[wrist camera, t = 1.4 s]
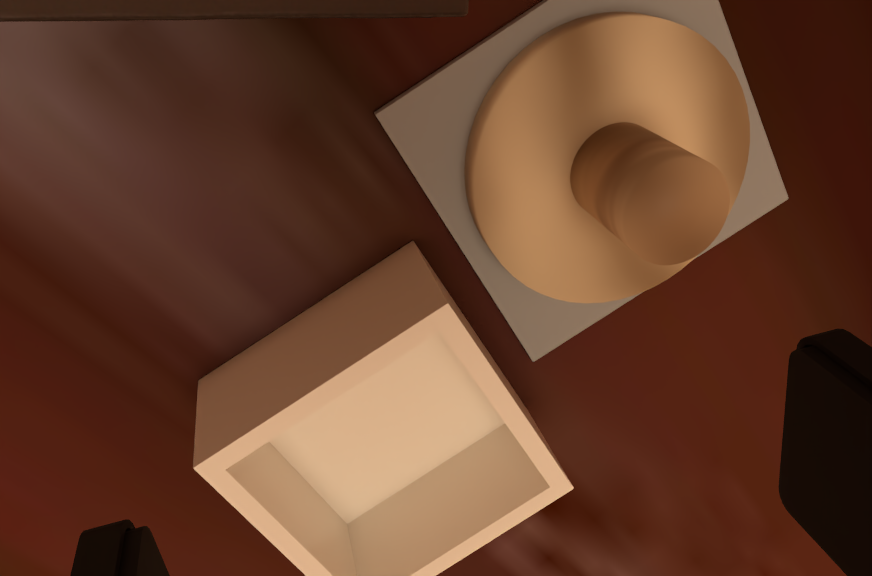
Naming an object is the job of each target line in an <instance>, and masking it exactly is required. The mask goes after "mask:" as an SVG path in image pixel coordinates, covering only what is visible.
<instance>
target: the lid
mask: <svg viewBox="0 0 872 576" xmlns="http://www.w3.org/2000/svg"><path fill="white" fill-rule="evenodd" d="M749 147H750V122H749V114H748V107H747V103H746V100H745V96H744V93H743V89H742V87H741V85H740V82H739V80H738V78H737V76H736V73H735V72H734V70H733V69H732V67H731V66H730V64H729V63H728V61H727V59H726V58H725V57H724V56H723V55H722V54H721V53H720V52H719V50H718V49H717V48H716V47H715V46H714V45H713V44H711V43H710V42H709V41H708V40H706V39H705V38H704V37H703V36H702V35H700V34H698V33H696V32H695V31H693V30H691V29H689V28H688V27H686V26H683V25H680V24H678V23H675V22H672V21H669V20H666V19H662V18H658V17H654V16H650V15H645V14H640V13H635V12H616V11H614V12H605V13H596V14H592V15H588V16H584V17H580V18H577V19H574V20H572V21H569V22H567V23H564V24H562V25H560V26H557V27H556V28H554V29H552V30H550V31H549V32H547V33H545V34H543V35H542V36H540V37H539V38H537V39H536V40H535V41H533V42H532V43H531V44H529V45H528V46H527V47H525V48H524V49H523V50H522V51H521V52H520V53H519V54H518V55H517V56H516V57H515V58H514V59H513V60H512V61H511V62H510V63H509V64H508V65H507V66H506V67H505V69H504V70H503V71H502V72H501V74H500V75H499V76H498V77H497V78H496V80H495V81H494V83H493V84H492V86H491V88H490V89H489V91H488V92H487V94H486V96H485V97H484V99H483V101H482V104H481V106H480V108H479V110H478V112H477V114H476V117H475V120H474V123H473V126H472V129H471V131H470V135H469V140H468V145H467V149H466V157H465V170H464V174H465V191H466V196H467V201H468V206H469V209H470V212H471V215H472V218H473V221H474V224H475V226H476V228H477V230H478V231H479V233H480V235H481V237H482V239H483V240H484V242H485V243H486V244H487V246H488V247H489V249H490V250H491V251H492V253H493V254H494V255H495V257H496V258H497V259H498V260H499V262H500V263H501V264H502V266H503V267H504V268H505V269H506V270H507V271H508V272H509V273H510V274H511V275H512V276H513V277H515V278H516V279H517V280H519V281H520V282H521V283H523V284H524V285H525V286H527V287H529V288H531V289H532V290H534V291H536V292H538V293H540V294H543V295H545V296H548V297H551V298H554V299H557V300H562V301H567V302H573V303H604V302H609V301H615V300H620V299H624V298H627V297H630V296H633V295H637V294H639V293H641V292H644V291H646V290H648V289H651V288H653V287H655V286H656V285H658V284H660V283H662V282H663V281H665V280H667V279H669V278H670V277H671V276H673V275H674V274H676V273H677V272H678V271H680V270H681V269H683V268H684V267H685V266H686V265H687V264H688V263H689V262H691V261H692V260H693V259H694V258H695V257H696V256H697V255H698V254H700V253H701V252H703V251H704V250H705V249H706V248H707V247H708V246H709V245H710V244H711V243H712V242H713V241H714V240H715V238H716V237H717V236H718V234H719V233H720V231H721V229H722V228H723V225H724V223H725V221H726V218H727V216H728V214H729V213H730V211H731V209H732V206H733V204H734V202H735V200H736V198H737V196H738V193H739V190H740V188H741V185H742V182H743V179H744V175H745V171H746V167H747V162H748V156H749Z"/></svg>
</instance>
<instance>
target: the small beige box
mask: <svg viewBox="0 0 872 576" xmlns="http://www.w3.org/2000/svg"><path fill="white" fill-rule="evenodd" d="M193 468H194V469H195V470H196V471H197V472H198V473H199V474H200V475H201V476H202V477H203V478H204V479H205V480H206V481H207V482H208V483H209V484H210V485H211V486H212V487H213V488H215V489H216V490H217V491H218V492H219V493H220V494H221V495H222V496H223V497H224V498H225V499H226V500H227V501H228V502H229V503H230V504H231V505H232V506H233V507H234V508H235V509H237V510H238V511H239V512H240V513H241V514H242V515H243V516H244V517H245V518H246V519H247V520H248V521H249V522H250V523H251V524H252V525H253V526H254V527H255V528H256V529H258V530H259V531H260V532H261V533H262V534H263V535H264V536H265V537H266V538H267V539H268V540H269V541H270V542H271V543H272V544H273V545H274V546H275V547H276V548H277V549H278V550H280V551H281V552H282V553H283V554H284V555H285V556H286V557H287V558H288V559H289V560H290V561H291V562H292V563H293V564H294V565H295V566H296V567H297V568H298V569H299V570H301V571H302V572H303V573H304V574H305V575H306V576H436V575H438V574H439V573H441V572H442V571H444V570H445V569H447V568H449V567H450V566H452V565H453V564H455V563H457V562H458V561H460V560H461V559H463V558H464V557H466V556H468V555H469V554H471V553H472V552H474V551H476V550H477V549H479V548H480V547H482V546H484V545H485V544H487V543H488V542H490V541H491V540H493V539H495V538H496V537H498V536H499V535H501V534H503V533H504V532H506V531H507V530H509V529H510V528H512V527H514V526H515V525H517V524H518V523H520V522H522V521H523V520H525V519H526V518H528V517H530V516H531V515H533V514H534V513H536V512H537V511H539V510H541V509H542V508H544V507H545V506H547V505H549V504H550V503H552V502H553V501H555V500H556V499H558V498H560V497H561V496H563V495H564V494H566V493H568V492H569V491H571V490H572V489H574V487H573V486H572V484H571V482H570V481H569V479H568V477H567V476H566V474H565V472H564V471H563V469H562V467H561V466H560V464H559V462H558V461H557V459H556V457H555V455H554V454H553V452H552V450H551V449H550V447H549V445H548V444H547V442H546V440H545V439H544V437H543V435H542V434H541V432H540V430H539V429H538V427H537V425H536V424H535V422H534V420H533V419H532V417H531V415H530V414H529V412H528V410H527V409H526V407H525V406H524V404H523V403H522V401H521V400H520V398H519V397H518V395H517V394H516V392H515V391H514V389H513V388H512V386H511V385H510V383H509V382H508V380H507V379H506V377H505V376H504V374H503V373H502V371H501V370H500V368H499V367H498V366H497V364H496V363H495V361H494V360H493V358H492V357H491V355H490V354H489V352H488V351H487V349H486V348H485V346H484V345H483V343H482V342H481V340H480V339H479V337H478V336H477V334H476V333H475V331H474V330H473V328H472V327H471V325H470V324H469V322H468V321H467V320H466V318H465V317H464V315H463V314H462V312H461V311H460V309H459V308H458V306H457V305H456V303H455V302H454V300H453V299H452V297H451V296H450V294H449V293H448V291H447V290H446V288H445V287H444V285H443V284H442V282H441V281H440V279H439V278H438V276H437V275H436V273H435V272H434V271H433V269H432V268H431V266H430V265H429V263H428V262H427V260H426V259H425V257H424V256H423V254H422V253H421V251H420V250H419V248H418V247H417V245H416V244H415V242H414V241H411V242H410V243H408V244H407V245H405V246H404V247H402V248H400V249H399V250H397V251H396V252H394V253H393V254H391V255H390V256H388V257H387V258H385V259H384V260H382V261H381V262H379V263H377V264H376V265H374V266H373V267H371V268H370V269H368V270H367V271H365V272H364V273H362V274H361V275H359V276H358V277H356V278H354V279H353V280H351V281H350V282H348V283H347V284H345V285H344V286H342V287H341V288H339V289H338V290H336V291H335V292H333V293H331V294H330V295H328V296H327V297H325V298H324V299H322V300H321V301H319V302H318V303H316V304H315V305H313V306H312V307H310V308H308V309H307V310H305V311H304V312H302V313H301V314H299V315H298V316H296V317H295V318H293V319H292V320H290V321H289V322H287V323H286V324H284V325H282V326H281V327H279V328H278V329H276V330H275V331H273V332H272V333H270V334H269V335H267V336H266V337H264V338H263V339H261V340H259V341H258V342H256V343H255V344H253V345H252V346H250V347H249V348H247V349H246V350H244V351H243V352H241V353H240V354H238V355H236V356H235V357H233V358H232V359H230V360H229V361H227V362H226V363H224V364H223V365H221V366H220V367H218V368H217V369H215V370H213V371H212V372H210V373H209V374H207V375H206V376H204V377H203V378H201V379H200V380H198V393H197V410H196V427H195V445H194V462H193Z"/></svg>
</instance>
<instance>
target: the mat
mask: <svg viewBox="0 0 872 576" xmlns="http://www.w3.org/2000/svg"><path fill="white" fill-rule="evenodd" d="M614 11H616V12H635V13H640V14H645V15H650V16H654V17H658V18H662V19H666V20H669V21H672V22H675V23H678V24H680V25H683V26H686V27H688V28H689V29H691V30H693V31H695V32H696V33H698V34H700V35H702V36H703V37H704V38H705V39H706V40H708V41H709V42H710V43H711V44H713V45H714V46H715V47H716V48H717V49H718V50H719V52H720V53H721V54H722V55H723V56H724V57H725V58H726V59H727V61H728V63H729V64H730V66H731V67H732V69H733V70H734V72H735V73H736V76H737V78H738V80H739V82H740V85H741V87H742V89H743V93H744V96H745V100H746V103H747V107H748V114H749V122H750V147H749V156H748V162H747V167H746V171H745V175H744V179H743V182H742V185H741V188H740V190H739V193H738V196H737V198H736V200H735V202H734V204H733V206H732V209H731V211H730V213H729V214H728V216H727V218H726V221H725V223H724V225H723V228H722V229H721V231H720V233H719V234H718V236H717V237H716V238H715V240H714V241H713V242H712V243H711V244H710V245H709V246H708V247H707V248H706V249H705V250H704V251H703V252H701V253H700V254H698V255H697V256H696V257H695V258H697V257H698V256H700V255H701V254H703V253H705V252H706V251H708V250H709V249H711V248H712V247H714V246H716V245H717V244H719V243H720V242H722V241H723V240H725V239H726V238H728V237H730V236H731V235H733V234H734V233H736V232H737V231H739V230H741V229H742V228H744V227H745V226H747V225H748V224H750V223H751V222H753V221H755V220H756V219H758V218H759V217H761V216H762V215H764V214H766V213H767V212H769V211H770V210H772V209H773V208H775V207H776V206H778V205H780V204H781V203H783V202H784V201H786V200H787V199H789V198H788V196H787V193H786V190H785V187H784V184H783V181H782V179H781V176H780V173H779V170H778V167H777V165H776V162H775V159H774V156H773V153H772V150H771V148H770V145H769V142H768V139H767V136H766V133H765V131H764V128H763V125H762V122H761V119H760V117H759V114H758V111H757V108H756V105H755V102H754V100H753V97H752V94H751V91H750V88H749V86H748V83H747V80H746V77H745V74H744V71H743V69H742V66H741V63H740V60H739V57H738V55H737V52H736V49H735V46H734V43H733V40H732V38H731V35H730V32H729V29H728V26H727V24H726V21H725V18H724V15H723V12H722V9H721V7H720V4H719V1H718V0H543V1H541V2H540V3H538V4H537V5H535V6H534V7H532V8H531V9H529V10H528V11H526V12H525V13H523V14H522V15H520V16H519V17H517V18H516V19H514V20H513V21H511V22H510V23H508V24H507V25H505V26H504V27H502V28H501V29H499V30H498V31H496V32H494V33H493V34H491V35H490V36H488V37H487V38H485V39H484V40H482V41H481V42H479V43H478V44H476V45H475V46H473V47H472V48H470V49H469V50H467V51H466V52H464V53H463V54H461V55H460V56H458V57H457V58H455V59H454V60H452V61H451V62H449V63H448V64H446V65H445V66H443V67H442V68H440V69H439V70H437V71H436V72H434V73H433V74H431V75H430V76H428V77H427V78H425V79H423V80H422V81H420V82H419V83H417V84H416V85H414V86H413V87H411V88H410V89H408V90H407V91H405V92H404V93H402V94H401V95H399V96H398V97H396V98H395V99H393V100H392V101H390V102H389V103H387V104H386V105H384V106H383V107H381V108H380V109H378V110H377V111H375V112H374V114H375V115H376V117H377V119H378V120H379V122H380V123H381V125H382V126H383V128H384V130H385V131H386V133H387V134H388V136H389V137H390V139H391V140H392V142H393V144H394V145H395V147H396V148H397V150H398V151H399V153H400V155H401V156H402V158H403V159H404V161H405V162H406V164H407V165H408V167H409V169H410V170H411V172H412V173H413V175H414V176H415V178H416V180H417V181H418V183H419V184H420V186H421V187H422V189H423V191H424V192H425V194H426V195H427V197H428V198H429V200H430V201H431V203H432V205H433V206H434V208H435V209H436V211H437V212H438V214H439V216H440V217H441V219H442V220H443V222H444V223H445V225H446V227H447V228H448V230H449V231H450V233H451V234H452V236H453V237H454V239H455V241H456V242H457V244H458V245H459V247H460V248H461V250H462V252H463V253H464V255H465V256H466V258H467V259H468V261H469V263H470V264H471V266H472V267H473V269H474V270H475V272H476V273H477V275H478V277H479V278H480V280H481V281H482V283H483V284H484V286H485V288H486V289H487V291H488V292H489V294H490V295H491V297H492V298H493V300H494V302H495V303H496V305H497V306H498V308H499V309H500V311H501V313H502V314H503V316H504V317H505V319H506V320H507V322H508V324H509V325H510V327H511V328H512V330H513V331H514V333H515V334H516V336H517V338H518V339H519V341H520V342H521V344H522V345H523V347H524V349H525V350H526V352H527V353H528V355H529V356H530V358H531V359H532V361H533V362H534V361H536V360H537V359H539V358H541V357H542V356H544V355H545V354H547V353H548V352H550V351H551V350H553V349H555V348H556V347H558V346H559V345H561V344H562V343H564V342H566V341H567V340H569V339H570V338H572V337H573V336H575V335H576V334H578V333H580V332H581V331H583V330H584V329H586V328H587V327H589V326H591V325H592V324H594V323H595V322H597V321H598V320H600V319H601V318H603V317H605V316H606V315H608V314H609V313H611V312H612V311H614V310H616V309H617V308H619V307H620V306H622V305H623V304H625V303H626V302H628V301H630V300H631V299H633V298H634V297H636V296H637V295H639V294H641V293H642V292H641V293H639V294H637V295H633V296H630V297H627V298H624V299H620V300H615V301H609V302H604V303H573V302H567V301H562V300H557V299H554V298H551V297H548V296H545V295H543V294H540V293H538V292H536V291H534V290H532V289H531V288H529V287H527V286H525V285H524V284H523V283H521V282H520V281H519V280H517V279H516V278H515V277H513V276H512V275H511V274H510V273H509V272H508V271H507V270H506V269H505V268H504V267H503V266H502V264H501V263H500V262H499V260H498V259H497V258H496V257H495V255H494V254H493V253H492V251H491V250H490V249H489V247H488V246H487V244H486V243H485V242H484V240H483V239H482V237H481V235H480V233H479V231H478V230H477V228H476V226H475V224H474V221H473V218H472V215H471V212H470V209H469V206H468V201H467V196H466V191H465V174H464V170H465V157H466V149H467V145H468V140H469V135H470V131H471V129H472V126H473V123H474V120H475V117H476V114H477V112H478V110H479V108H480V106H481V104H482V101H483V99H484V97H485V96H486V94H487V92H488V91H489V89H490V88H491V86H492V84H493V83H494V81H495V80H496V78H497V77H498V76H499V75H500V74H501V72H502V71H503V70H504V69H505V67H506V66H507V65H508V64H509V63H510V62H511V61H512V60H513V59H514V58H515V57H516V56H517V55H518V54H519V53H520V52H521V51H522V50H523V49H524V48H525V47H527V46H528V45H529V44H531V43H532V42H533V41H535V40H536V39H537V38H539V37H540V36H542V35H543V34H545V33H547V32H549V31H550V30H552V29H554V28H556V27H557V26H560V25H562V24H564V23H567V22H569V21H572V20H574V19H577V18H580V17H584V16H588V15H592V14H596V13H605V12H614ZM695 258H694V259H695ZM694 259H693V260H694Z"/></svg>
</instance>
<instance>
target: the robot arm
mask: <svg viewBox="0 0 872 576" xmlns="http://www.w3.org/2000/svg"><path fill="white" fill-rule="evenodd" d="M779 494H780V498H781V500H782V503H783V505H784V506H785V508H786V510H787V511H788V512H789V513H790V515H791V516H792V517H793V518H794V519H795V520H796V521H797V522H798V523H799V524H800V525H801V526H802V527H803V529H804V530H805V531H806V532H807V533H808V534H809V535H810V536H811V537H812V538H813V539H814V540H815V541H816V543H817V544H818V545H819V546H820V547H821V548H822V549H823V550H824V551H825V552H826V553H827V554H828V556H829V557H830V558H831V559H832V560H833V561H834V562H835V563H836V564H837V565H838V566H839V567H840V568H841V570H842V571H843V572H844V573H845V574H846V575H847V576H872V347H870V346H869V345H867V344H866V343H865V342H863V341H862V340H860V339H859V338H857V337H856V336H854V335H853V334H851V333H850V332H848V331H846V330H844V329H834V330H831V331H827V332H823V333H820V334H816V335H812V336H808V337H805V338H803V339H801V340H800V342H799V343H798V345H797V349H796V350H795V351H793V352H792V353H791V355H790V358H789V366H788V378H787V390H786V403H785V415H784V427H783V440H782V452H781V464H780V477H779ZM71 576H169V573H168V571H167V568H166V566H165V564H164V561H163V559H162V557H161V554H160V552H159V549H158V547H157V545H156V542H155V540H154V538H153V535H152V533H151V531H150V529H149V528H148V527H147V526H143V527H140V528H136V529H135V527H134V525H133V523H132V522H131V521H130V520H122V521H119V522H115V523H111V524H107V525H104V526H100V527H96V528H93V529H89V530H85V531H83V532H82V533H81V535H80V538H79V541H78V546H77V550H76V554H75V559H74V563H73V567H72V572H71Z"/></svg>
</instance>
